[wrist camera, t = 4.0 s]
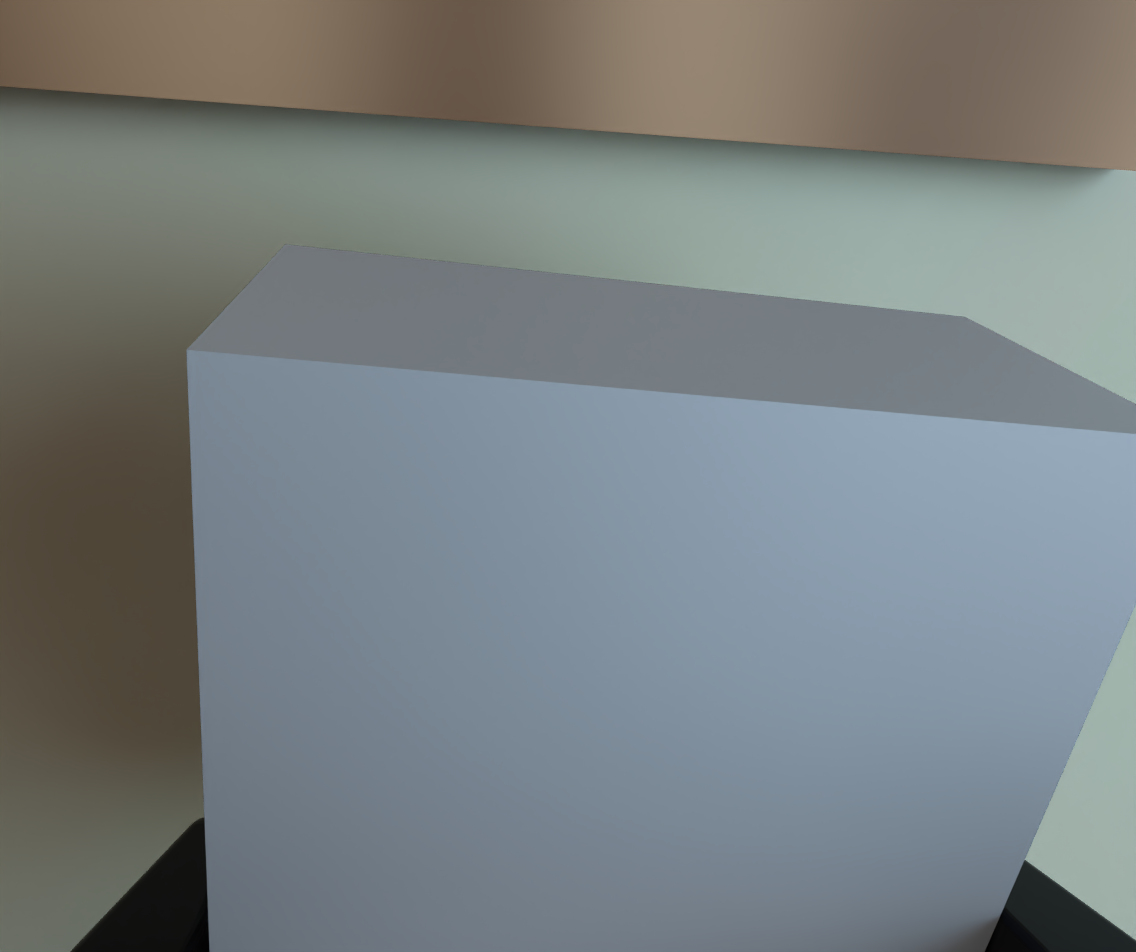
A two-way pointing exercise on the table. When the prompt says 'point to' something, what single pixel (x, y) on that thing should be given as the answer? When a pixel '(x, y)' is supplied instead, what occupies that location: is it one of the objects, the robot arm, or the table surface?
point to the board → (630, 66)
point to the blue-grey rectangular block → (634, 612)
